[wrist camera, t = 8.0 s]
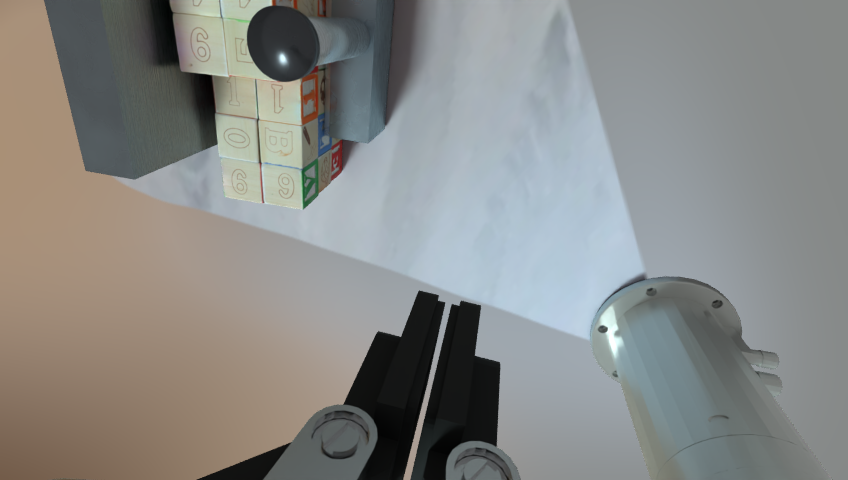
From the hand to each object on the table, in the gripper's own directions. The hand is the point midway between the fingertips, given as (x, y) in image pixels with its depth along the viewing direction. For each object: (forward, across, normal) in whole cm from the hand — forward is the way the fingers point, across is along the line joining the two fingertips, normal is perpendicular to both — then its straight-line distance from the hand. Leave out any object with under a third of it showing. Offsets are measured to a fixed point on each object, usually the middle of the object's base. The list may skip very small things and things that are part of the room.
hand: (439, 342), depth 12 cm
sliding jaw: (+27, +11, -6) cm, 30 cm away
